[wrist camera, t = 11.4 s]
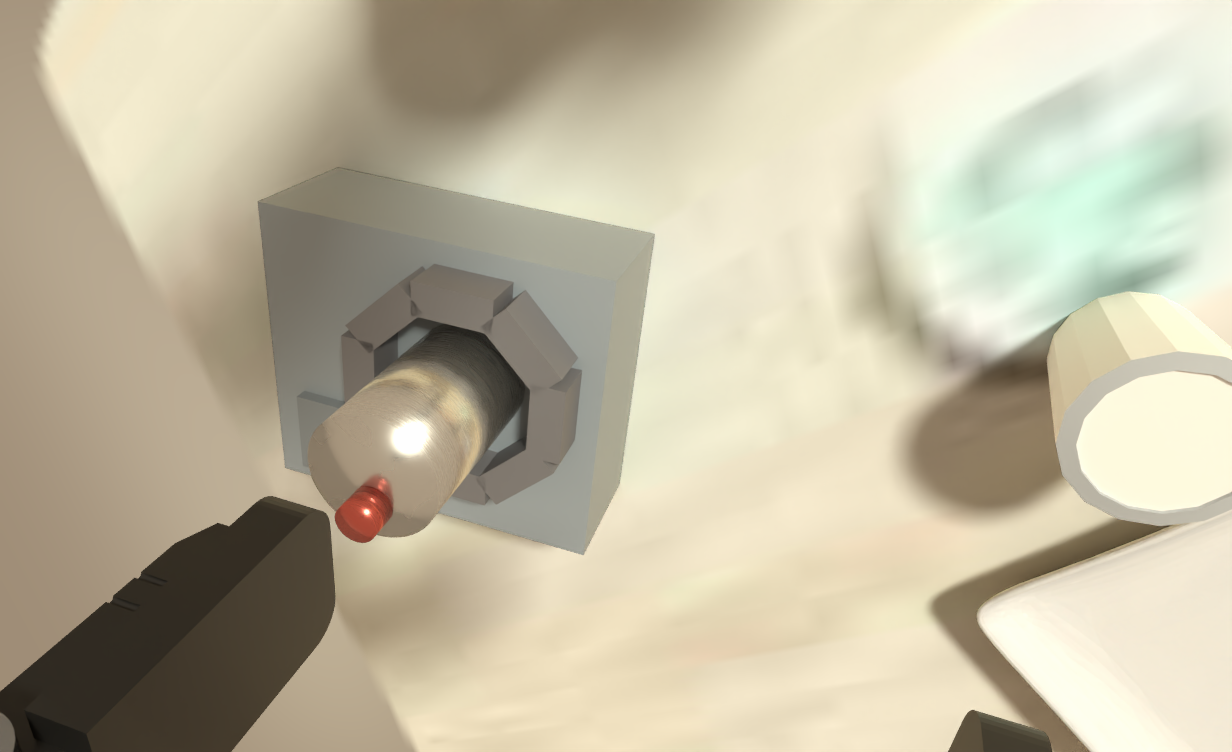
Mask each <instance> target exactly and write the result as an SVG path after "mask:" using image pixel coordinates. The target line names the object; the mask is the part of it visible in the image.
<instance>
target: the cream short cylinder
mask: <svg viewBox="0 0 1232 752" xmlns="http://www.w3.org/2000/svg"><path fill="white" fill-rule="evenodd" d="M1047 368H1048V377H1049V387H1050V396H1051V406H1052V415H1053V425H1054V434H1055V444H1056V448H1057V453H1058V458H1059V462H1060V467H1061V471H1062V476H1063V477H1064V478H1065V479H1066V480H1067V481H1068V483H1069V484H1070V485H1071V486H1072V487H1073V489H1074V490H1075V491H1076V492H1077V493H1078V495H1079V496H1080V497H1081V498H1082V499H1083V501H1084V502H1086V503H1088V504H1090V505H1092V506H1094V507H1096V508H1098V509H1100V510H1101V511H1103V512H1105V513H1107V514H1109V515H1111V516H1113V517H1115V518H1117V519H1120V520H1126V521H1132V522H1138V523H1144V524H1150V525H1156V526H1166V525H1174V524H1183V523H1191V522H1200V521H1205V520H1208V519H1210V518H1213V517H1215V516H1217V515H1220V514H1222V513H1224V512H1227V511H1229V510H1232V348H1231V347H1230V346H1229V345H1228V344H1227V343H1225V342H1224V341H1223V340H1222V339H1221V338H1220V337H1219V336H1217V335H1216V334H1215V333H1214V332H1213V331H1212V330H1210V329H1209V328H1208V327H1207V326H1206V325H1205V324H1204V323H1202V322H1201V321H1200V320H1199V319H1198V318H1197V317H1195V316H1194V315H1193V314H1192V313H1191V312H1190V311H1189V310H1187V309H1186V308H1185V307H1183V306H1181V305H1179V304H1177V303H1175V302H1173V301H1171V300H1169V299H1167V298H1165V297H1163V296H1161V295H1158V294H1148V293H1138V292H1129V291H1128V292H1124V293H1119V294H1114V295H1110V296H1105V297H1101V298H1097V299H1095V300H1093V301H1092V302H1090V303H1088V304H1086V305H1085V306H1083V307H1081V308H1080V309H1078V310H1076V311H1075V312H1073V313H1071V314H1070V315H1069V316H1068V318H1067V319H1066V320H1065V321H1064V323H1063V324H1062V325H1061V326H1060V327H1059V329H1058V330H1057V331H1056V332H1055V333H1054V335H1053V337H1052V341H1051V345H1050V348H1049V352H1048V356H1047Z"/></svg>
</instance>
